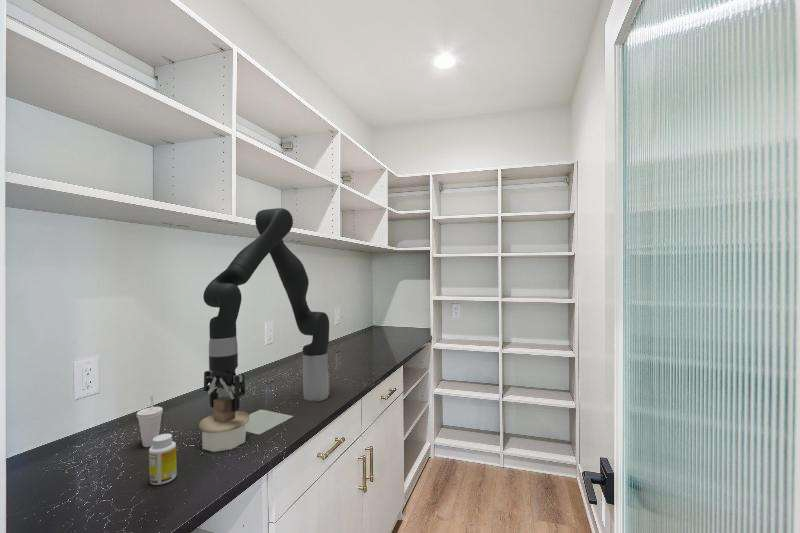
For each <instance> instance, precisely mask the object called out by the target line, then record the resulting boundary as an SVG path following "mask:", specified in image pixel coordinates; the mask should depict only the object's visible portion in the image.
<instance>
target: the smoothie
mask: <svg viewBox="0 0 800 533" xmlns="http://www.w3.org/2000/svg"><path fill="white" fill-rule="evenodd" d="M163 412H164V410H163V407H161V406H154V394H150V407H145V408H143V409H141V410H138V411H137V412H136V418H137V419H138V426H139V431H140V438H141V442H142V447H144V448H149V447H151V446H153V438H154V437H156V436H158V435H160V430H161V420H162V413H163Z"/></svg>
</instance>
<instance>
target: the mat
mask: <svg viewBox="0 0 800 533" xmlns="http://www.w3.org/2000/svg"><path fill="white" fill-rule="evenodd" d="M291 418H294V415H290V414H284V413H280V412H276V411H270V410H266V409H258V410H257V411H255V412H252V413H249V421H248V422H247V423H246V433H252V434H255V435H258V436H259V435H262V434H264V433H266V432H267V431H269V430H271V429H273V428H274V427H275V428H276V426H278V425H280V424H282V423H284V422H286V421H288V420H289V419H291Z"/></svg>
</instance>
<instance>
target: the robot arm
mask: <svg viewBox="0 0 800 533" xmlns="http://www.w3.org/2000/svg"><path fill="white" fill-rule="evenodd" d="M254 218H255V222H254V223H255V227H256V230H257V233H258V234H259V236H258V237H257V238H256V239H254V240H253V241H251V242H250V243H248V244H247V245H246V246H245V247H243V248H242V249H241V250H240V251H239V252H238V253H237V254H236V256H235V257H234V258H233V260H232V261H231V262H230V264H229V265H228V266H227V267H226V269H225V270H223V271H222V272H220V274H218V275H217V276H215V277H214V279H212V280H211V281H210V282H209V283H208V284H207V286H206V287H205V289H204V291H203V301H204V303H205V304H206V306H209V307H211V308H217V309H218V308H219V309H218V313H217V315H216V316H213V317H212V318H210V320H209V326H208V327H209V341H208V370H205V371H204V372H203V391H204V392H205V393H206V392H207V394H208V395H209V405H210V406H209V407H210V408H212V409H214V401H213V400H215V399H218V398H219V389H222V390H225V392H226V393H228V396H230V397H231V412H235V411H240V410H239V409H240V398H241V397H243V396H245V395H246V382H245V374H244V373H241V374H237V373H236V369H237V368H238V366H239V356H238V355H239V353H238V352H239V350H238V345H239V344H238V339H237V321H238V320H237V319H238V317H239V313H240V308H241V305H242V292H241V289H240V287H238V286H241V285H244V284H247V282H248V281H250V279H251V277H252V275H254V273H255V272H256V270H257V269H258V267H259V266H260V265H261V263H262V261H264V260H265V258H266V257H267V256H268V255H270V256H271V260H272V262H273V264H274V267H275V269H276V271H277V273H278V277H279V280H280V281H281V284H282V286H283V288H284V290H285V293H286V296H287V298H288V300H289V303H290V306H291V309H292V312H293V315H294V320H295V324H296V326H297V329H298V330H299V332H300V333H301V334H302V335H304V336H312V340H311V343H309V344H306V345H304V346H303V347H302V377H303V378H302V379H303V380H302V382H303V383H302V384H303V386H302V387H303V389H302V390H303V392H302V393H303V400H305V401H310V402H321V401H324V400H327V399H328V397H329V396H330V371H329V370H328V347H329V342H330V319H329V316H328V314H327V313H326V312H323V311H311V309H310V307H309V305H308V302H307V294H308V290H309V284H310V283H309V280H310V279H309V276H308V273H307V271H306V269H305V266H304V264H303V262H302V261H301V260H300V259H299V257H298V256H296V254H294V252H292V251H291V250H290V249H289V247H288V246H287V245H286V244H285V242H284V241H283V239H284V238H285V237H286V236H287V235H288V234H289V233H290V232H291V230H292V228H293V225H294V219H293V215H292V214H291V212H290V211H289V210H288V209H286V208H281V207H276V208H266V209H262V210H260V211H258V212H257V213H256V214H255V217H254Z"/></svg>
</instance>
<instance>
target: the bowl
mask: <svg viewBox="0 0 800 533" xmlns="http://www.w3.org/2000/svg"><path fill="white" fill-rule="evenodd" d="M246 437H247V432H246V424H245V425H243V426H242V427H239V428H237V429H234V430H231V431H226V432H220V433H206V432H203V431H201V439H202V440H201V441H202V444H201V445H202V446H201V448H202V450H204V451H209V452H212V453H216V452H222V451H228V450H233V449H235V448H236V447H238V446H240V445H242V444H244V443H246Z"/></svg>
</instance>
